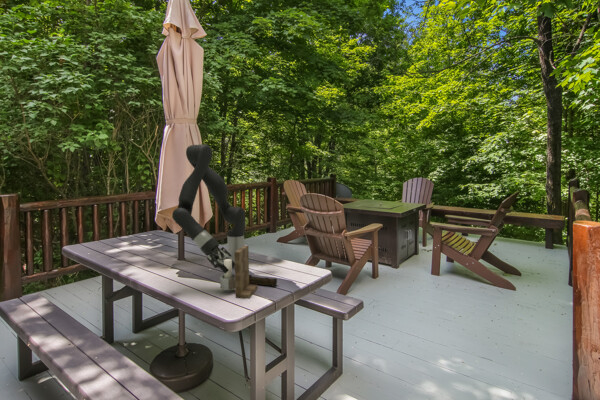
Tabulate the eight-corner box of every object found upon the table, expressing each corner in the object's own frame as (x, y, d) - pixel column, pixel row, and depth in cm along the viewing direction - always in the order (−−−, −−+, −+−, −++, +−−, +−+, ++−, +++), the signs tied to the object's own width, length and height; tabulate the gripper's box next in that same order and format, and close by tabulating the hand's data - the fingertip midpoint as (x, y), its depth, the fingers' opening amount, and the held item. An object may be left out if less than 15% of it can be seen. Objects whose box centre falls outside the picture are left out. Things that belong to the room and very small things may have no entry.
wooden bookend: (245, 287, 158) (244, 245, 156) (257, 288, 157) (256, 246, 154) (235, 297, 146) (234, 252, 144) (248, 298, 145) (248, 252, 143)
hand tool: (277, 285, 161) (277, 276, 161) (274, 288, 157) (274, 278, 157) (242, 281, 167) (242, 272, 167) (238, 283, 164) (238, 274, 163)
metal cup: (224, 284, 157) (224, 273, 156) (243, 285, 155) (242, 274, 154) (218, 289, 150) (218, 278, 149) (237, 290, 148) (237, 279, 148)
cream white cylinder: (226, 284, 155) (225, 258, 153) (233, 284, 154) (232, 259, 153) (223, 287, 151) (222, 260, 150) (230, 287, 151) (229, 261, 149)
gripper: (204, 240, 145) (230, 268, 144) (218, 234, 159) (242, 259, 158) (193, 252, 146) (218, 279, 145) (208, 244, 160) (231, 269, 159)
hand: (230, 268), depth 151 cm, fingers open, 8 cm apart
